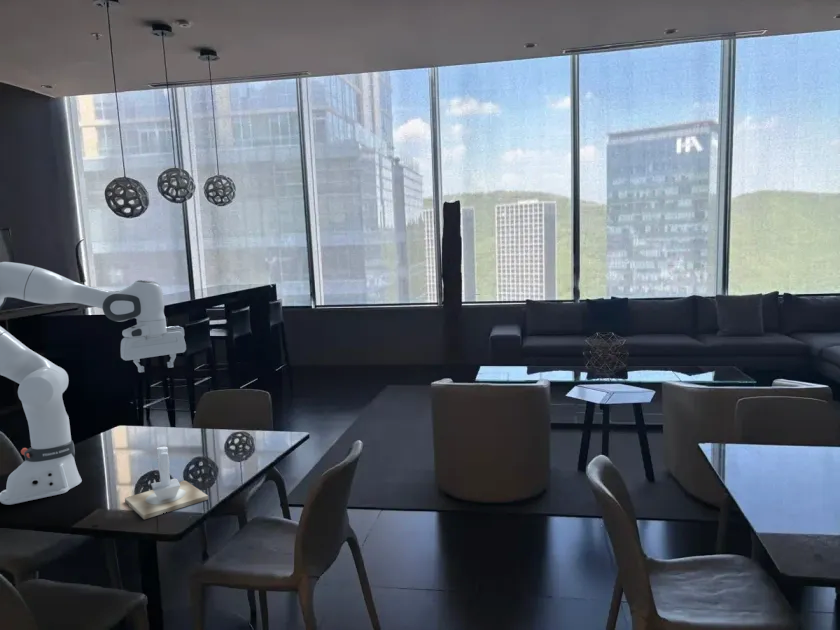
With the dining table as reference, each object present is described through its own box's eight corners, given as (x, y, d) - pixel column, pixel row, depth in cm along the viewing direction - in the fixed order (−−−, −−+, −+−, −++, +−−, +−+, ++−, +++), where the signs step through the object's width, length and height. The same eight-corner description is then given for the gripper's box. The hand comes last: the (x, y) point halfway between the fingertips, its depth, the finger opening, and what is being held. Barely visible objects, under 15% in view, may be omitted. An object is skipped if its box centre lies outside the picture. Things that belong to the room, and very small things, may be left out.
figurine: (177, 488, 181) (172, 440, 180) (182, 498, 173) (177, 448, 172) (151, 494, 178) (146, 445, 176) (155, 504, 169) (150, 454, 168)
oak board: (144, 519, 163) (143, 514, 163) (125, 501, 177) (124, 497, 176) (208, 499, 175) (207, 494, 175) (185, 484, 188) (185, 479, 188)
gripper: (180, 324, 206) (183, 363, 208) (116, 331, 193) (121, 373, 194) (187, 325, 202) (190, 365, 203) (122, 333, 188) (126, 375, 189)
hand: (156, 369), depth 198 cm, fingers open, 8 cm apart
